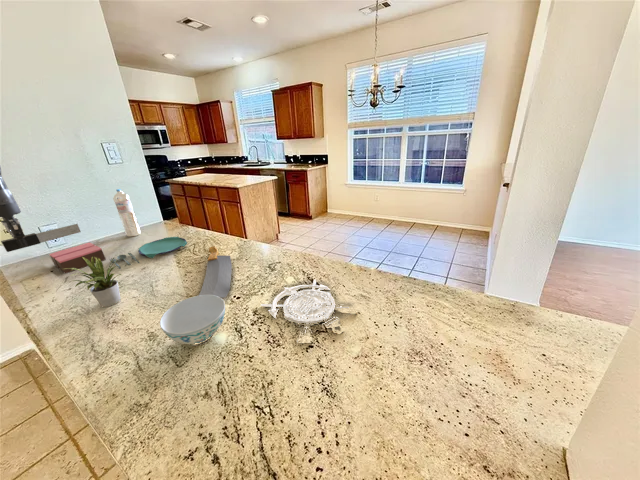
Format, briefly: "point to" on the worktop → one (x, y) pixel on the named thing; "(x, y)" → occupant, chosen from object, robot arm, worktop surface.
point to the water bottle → (126, 214)
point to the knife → (41, 237)
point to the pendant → (305, 304)
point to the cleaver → (217, 275)
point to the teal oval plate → (155, 248)
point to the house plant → (101, 283)
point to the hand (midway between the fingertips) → (23, 246)
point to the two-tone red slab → (76, 257)
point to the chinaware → (193, 319)
